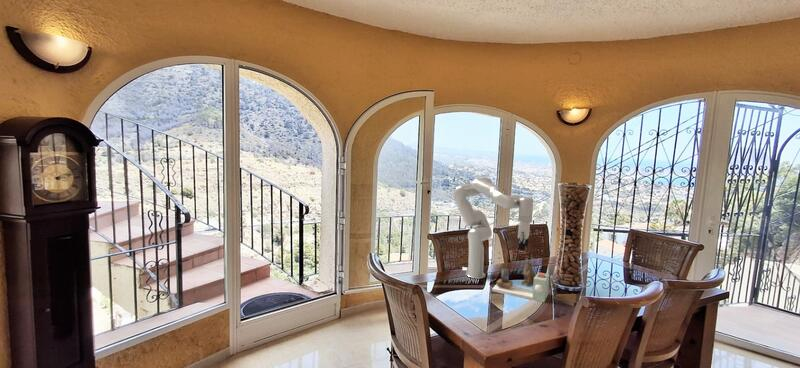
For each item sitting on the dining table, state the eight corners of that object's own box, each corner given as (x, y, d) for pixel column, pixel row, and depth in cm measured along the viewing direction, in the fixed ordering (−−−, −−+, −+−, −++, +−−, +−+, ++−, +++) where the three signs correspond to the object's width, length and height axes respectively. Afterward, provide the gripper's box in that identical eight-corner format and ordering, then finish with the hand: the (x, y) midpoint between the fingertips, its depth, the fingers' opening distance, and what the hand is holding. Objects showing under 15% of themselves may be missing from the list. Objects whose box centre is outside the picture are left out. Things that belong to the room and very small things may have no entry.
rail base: (492, 291, 219) (492, 285, 218) (498, 284, 229) (498, 279, 229) (532, 299, 207) (532, 293, 207) (536, 292, 218) (537, 286, 217)
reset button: (538, 279, 209) (538, 273, 209) (539, 277, 212) (539, 272, 211) (543, 280, 208) (543, 274, 208) (544, 278, 210) (544, 273, 210)
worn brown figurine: (527, 290, 227) (524, 263, 223) (520, 287, 232) (517, 260, 228) (540, 283, 233) (538, 256, 229) (533, 280, 238) (530, 253, 233)
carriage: (496, 286, 220) (496, 270, 219) (499, 283, 225) (499, 267, 224) (510, 289, 216) (510, 272, 215) (512, 286, 221) (513, 269, 220)
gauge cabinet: (532, 299, 207) (533, 278, 206) (536, 292, 218) (538, 272, 216) (544, 302, 204) (545, 280, 203) (548, 294, 215) (549, 274, 213)
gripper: (521, 215, 226) (519, 243, 228) (515, 220, 211) (513, 250, 213) (534, 217, 223) (532, 245, 224) (529, 222, 207) (527, 252, 209)
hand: (523, 247), depth 219 cm, fingers open, 9 cm apart
